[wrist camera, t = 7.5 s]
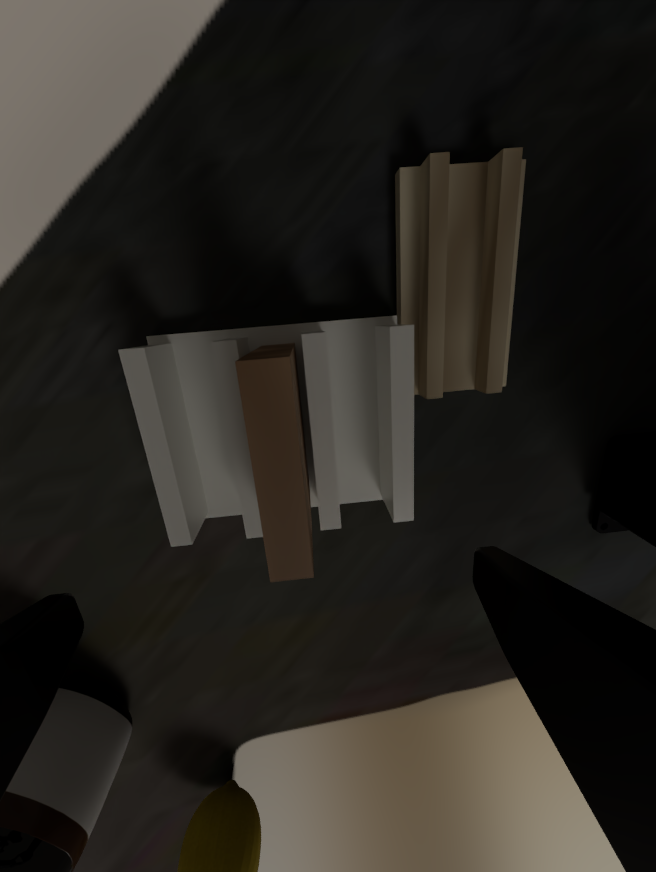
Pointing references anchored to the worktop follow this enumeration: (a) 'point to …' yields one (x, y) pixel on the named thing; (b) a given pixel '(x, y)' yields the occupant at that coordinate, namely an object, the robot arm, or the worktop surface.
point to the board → (278, 457)
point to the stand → (458, 268)
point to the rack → (321, 411)
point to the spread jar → (63, 779)
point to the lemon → (223, 833)
